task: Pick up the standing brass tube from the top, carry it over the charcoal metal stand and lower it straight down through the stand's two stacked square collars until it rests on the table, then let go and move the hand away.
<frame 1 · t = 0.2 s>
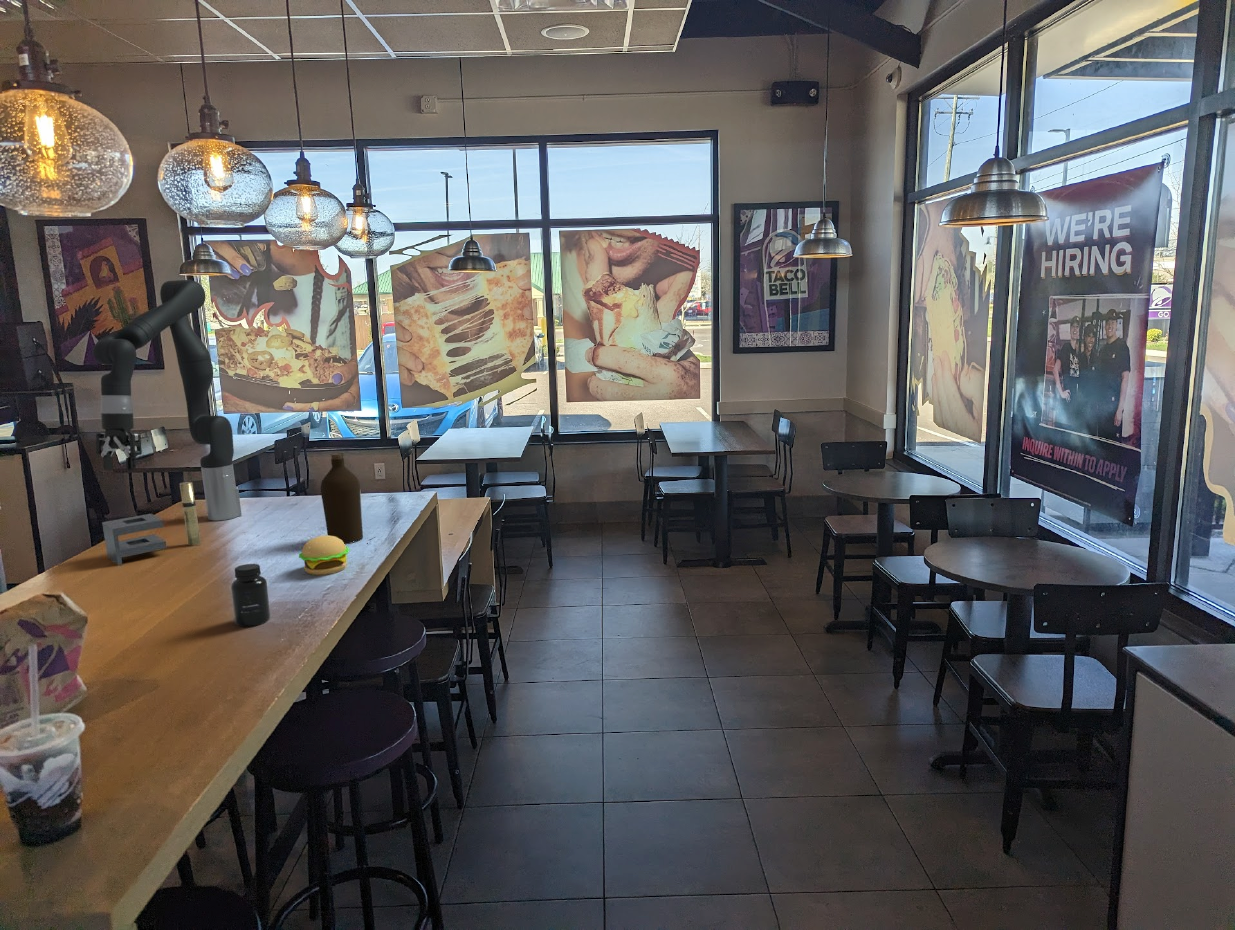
hand: (119, 470, 222), 23 cm above the table, tool pointing down, fingers open, 8 cm apart
supplement bottle: (253, 622, 169), on the table
hamburger: (326, 570, 203), on the table
brass tube: (194, 544, 230), on the table
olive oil: (346, 540, 229), on the table
collar stand: (139, 555, 220), on the table
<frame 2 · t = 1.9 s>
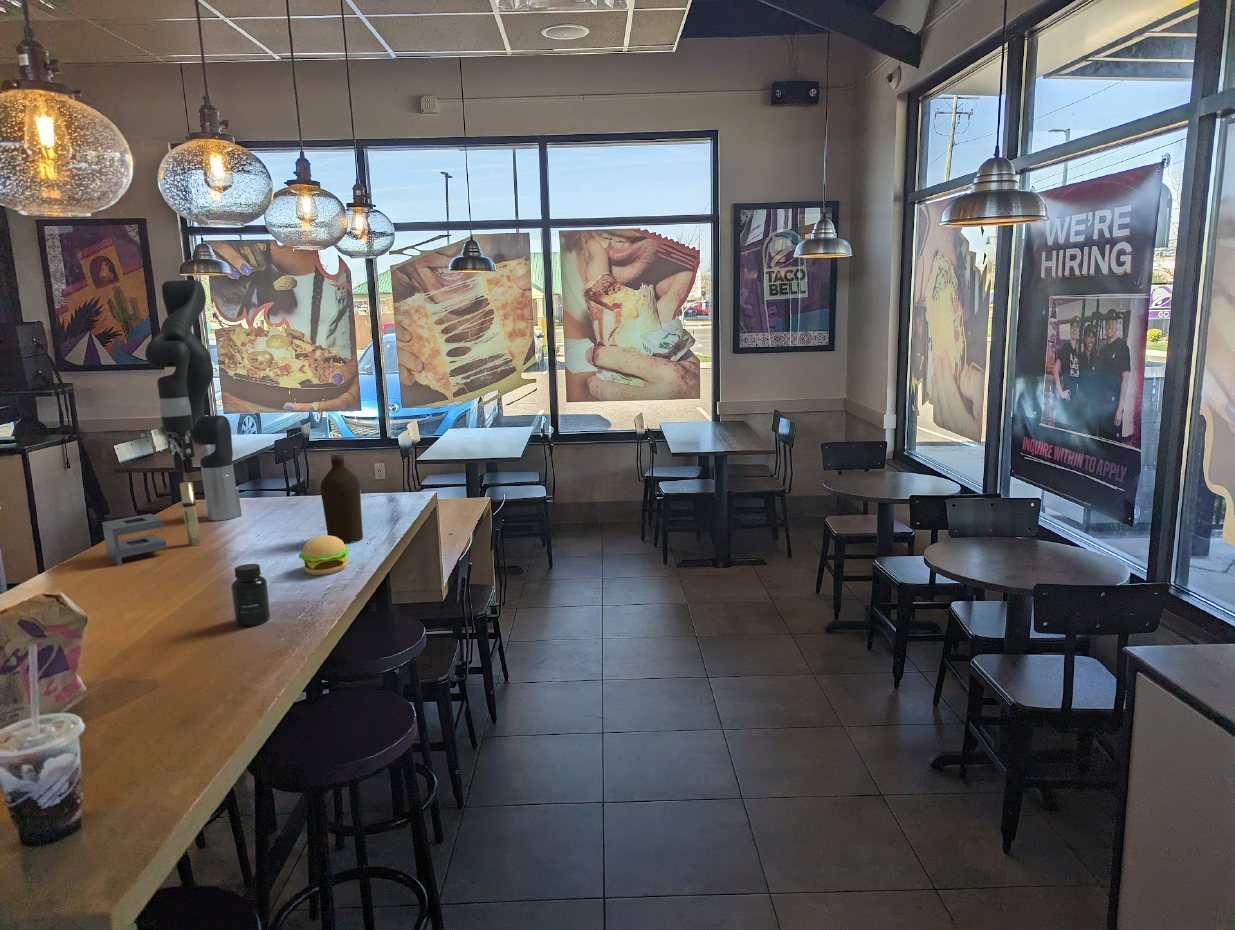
hand: (184, 470, 226), 22 cm above the table, tool pointing down, fingers open, 8 cm apart
nothing on the table moved.
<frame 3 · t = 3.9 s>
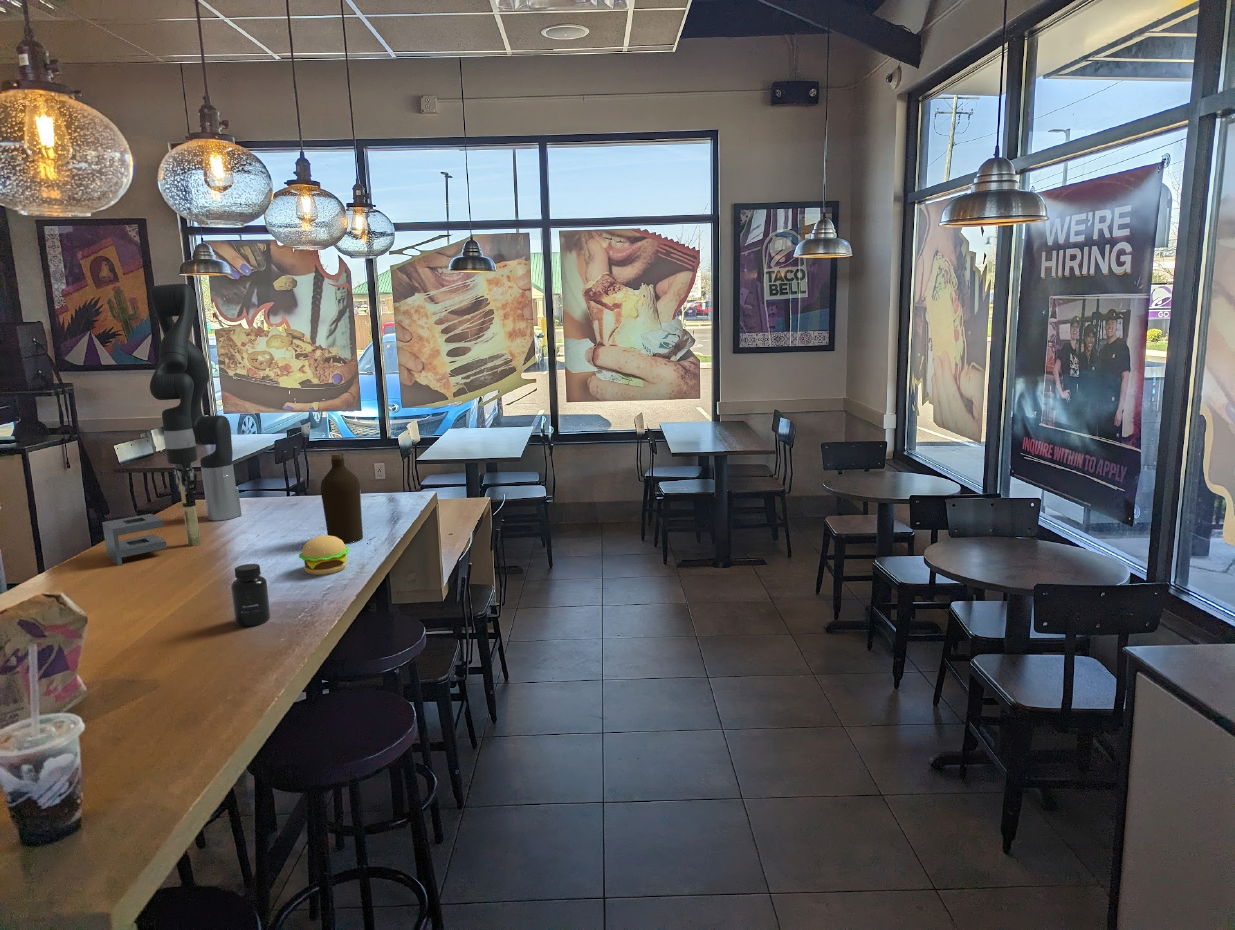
hand: (189, 504, 228), 12 cm above the table, tool pointing down, fingers closed on brass tube, 3 cm apart
brass tube: (194, 544, 230), on the table, touching gripper
everything else where it was.
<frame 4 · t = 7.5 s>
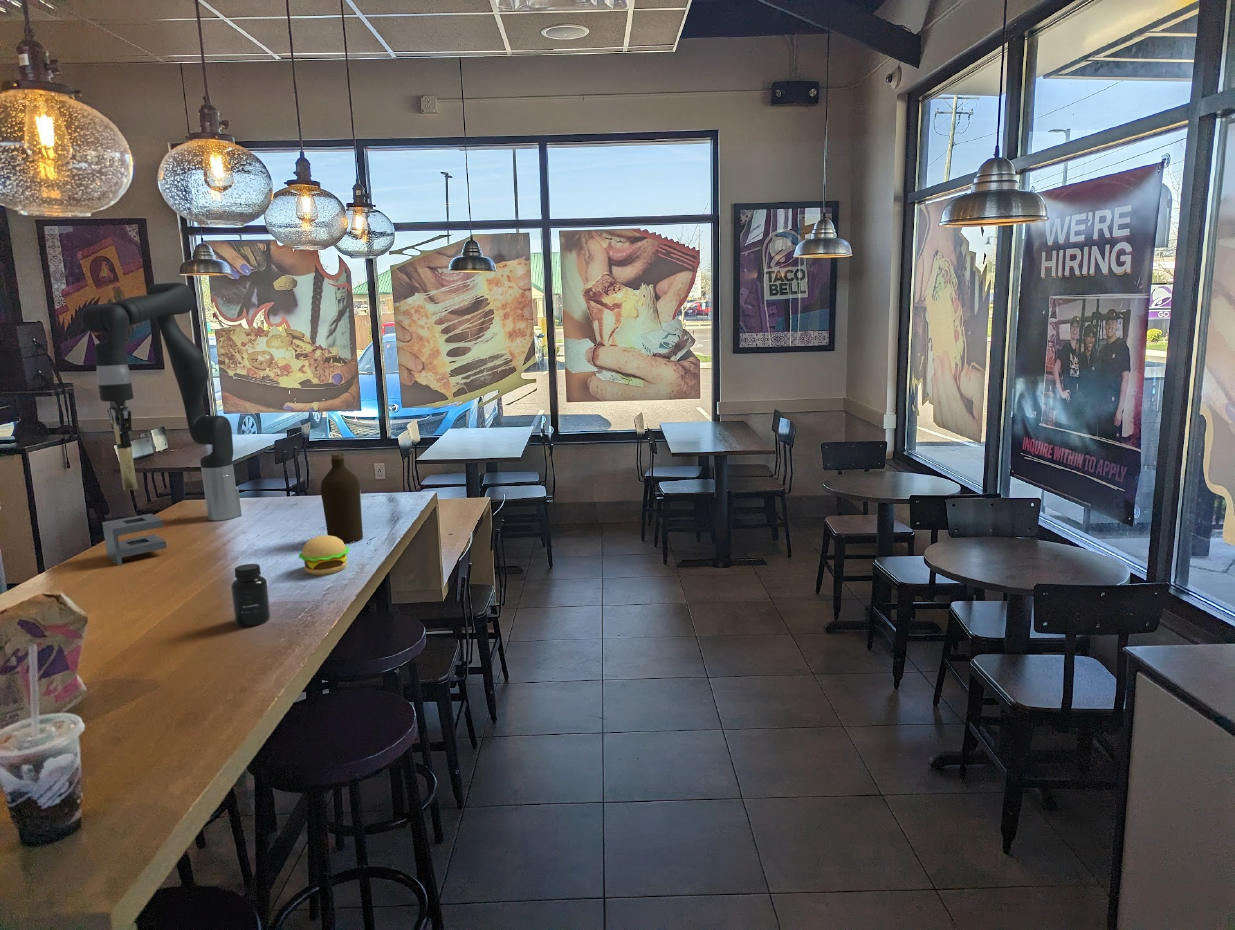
hand: (124, 446, 215), 31 cm above the table, tool pointing down, fingers closed on brass tube, 3 cm apart
brass tube: (130, 489, 217), point 19 cm above the table, touching gripper
everything else where it was.
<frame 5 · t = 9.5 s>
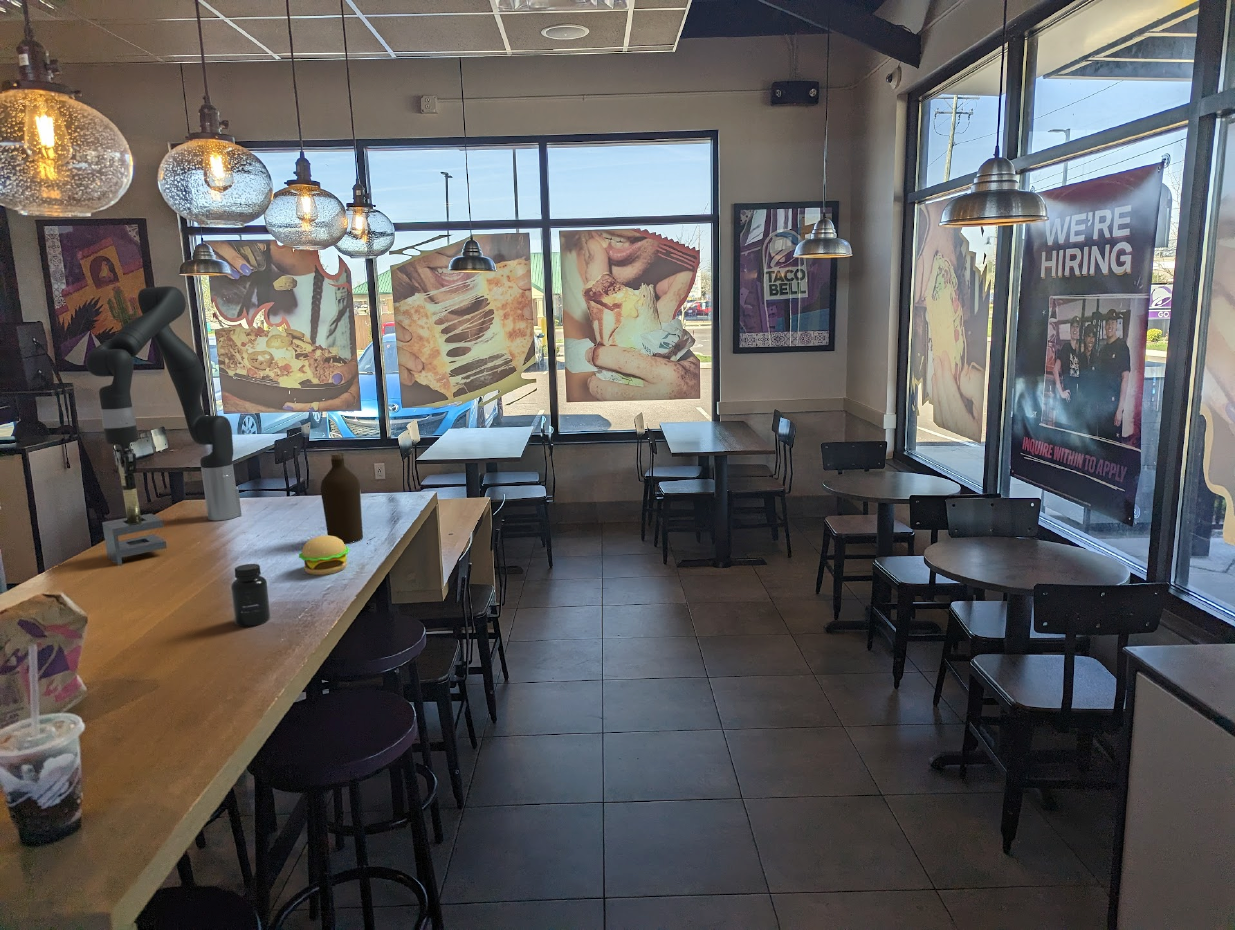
hand: (129, 487, 217), 19 cm above the table, tool pointing down, fingers closed on brass tube, 3 cm apart
brass tube: (135, 529, 219), point 8 cm above the table, touching gripper
everything else where it was.
when the fingers open (13 cm above the table, at t = 11.1 s): brass tube drops 1 cm, on the table.
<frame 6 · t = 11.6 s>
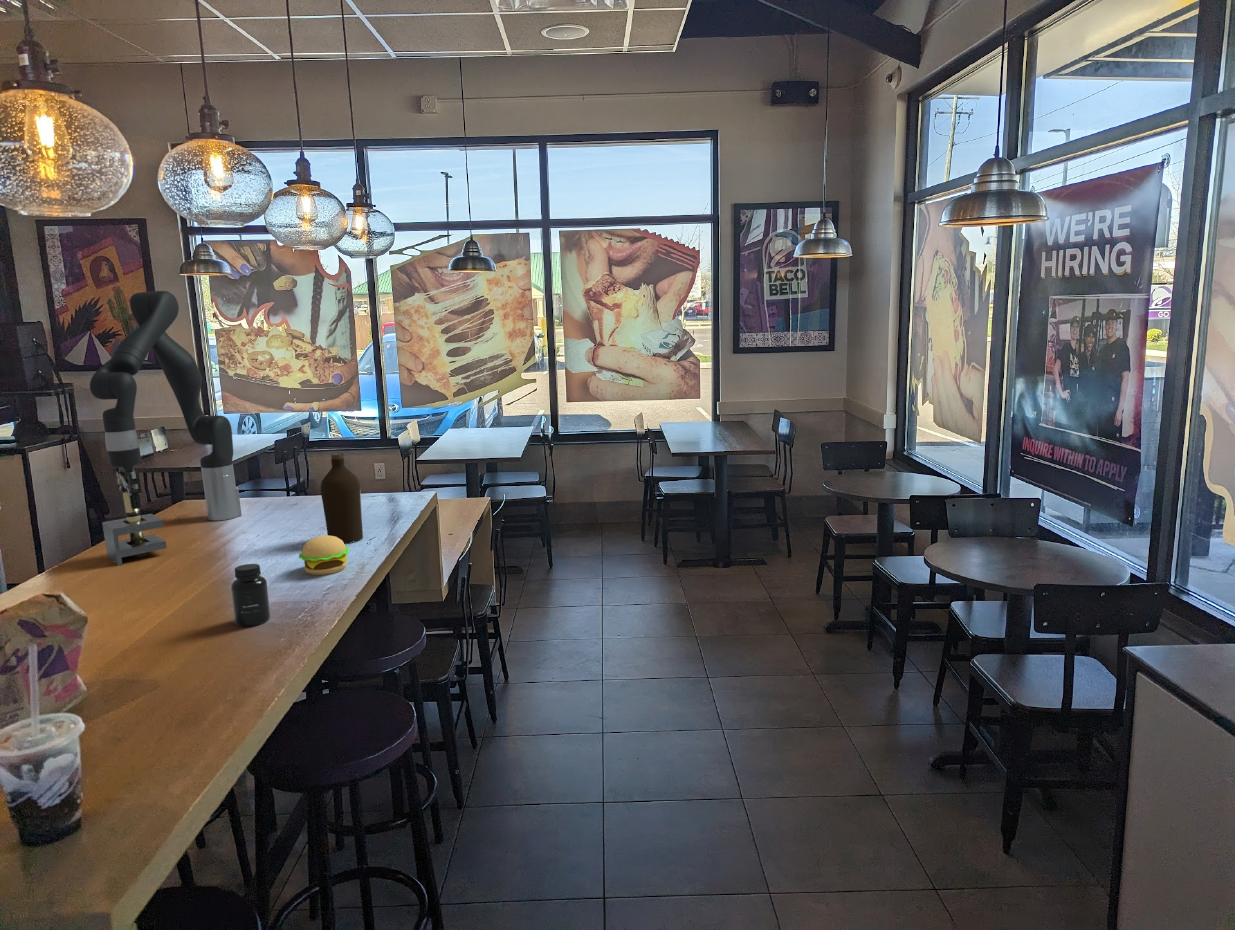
hand: (132, 506, 218), 14 cm above the table, tool pointing down, fingers open, 8 cm apart
brass tube: (139, 555, 220), on the table
everything else where it was.
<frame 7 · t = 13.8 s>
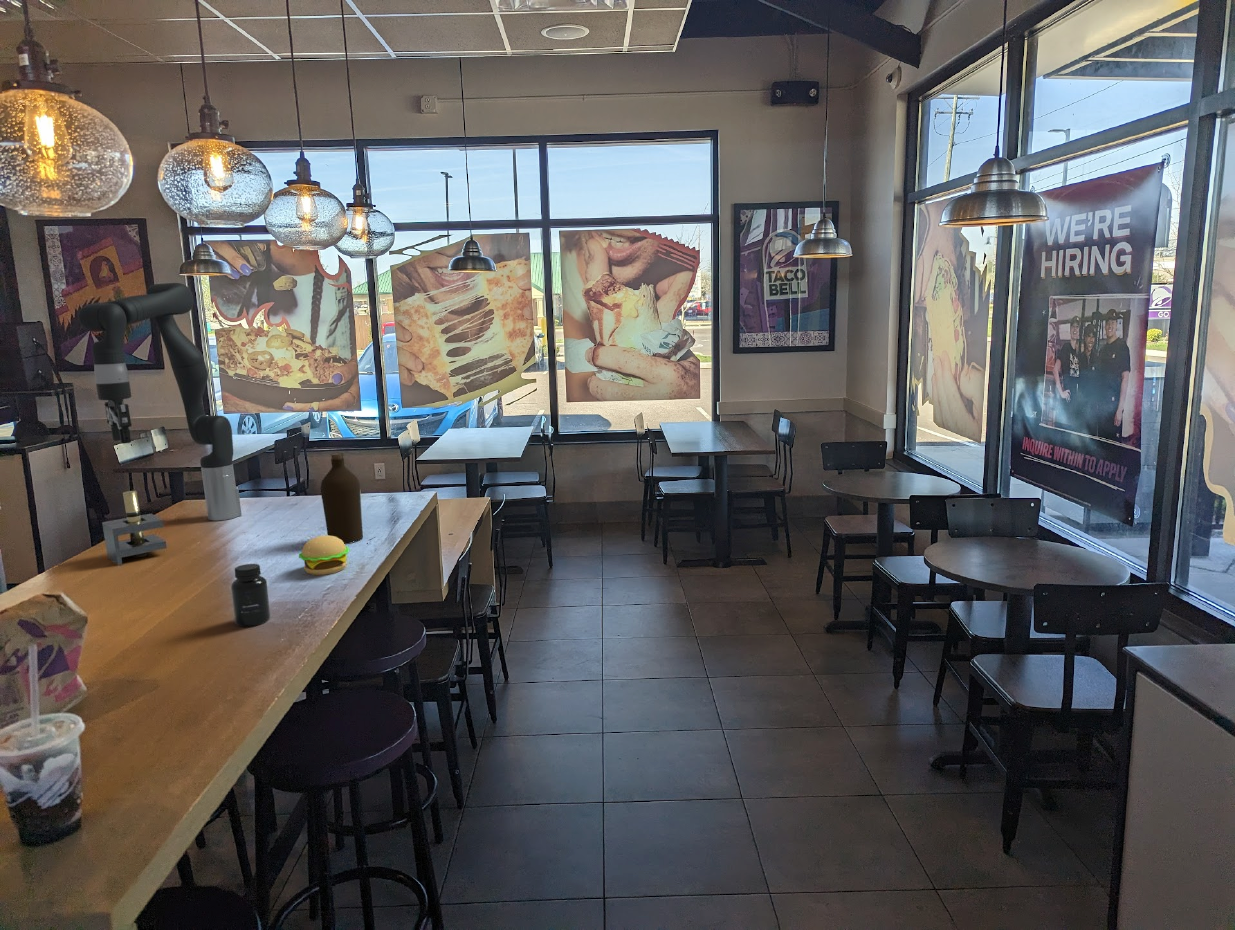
hand: (122, 441, 214), 32 cm above the table, tool pointing down, fingers open, 8 cm apart
nothing on the table moved.
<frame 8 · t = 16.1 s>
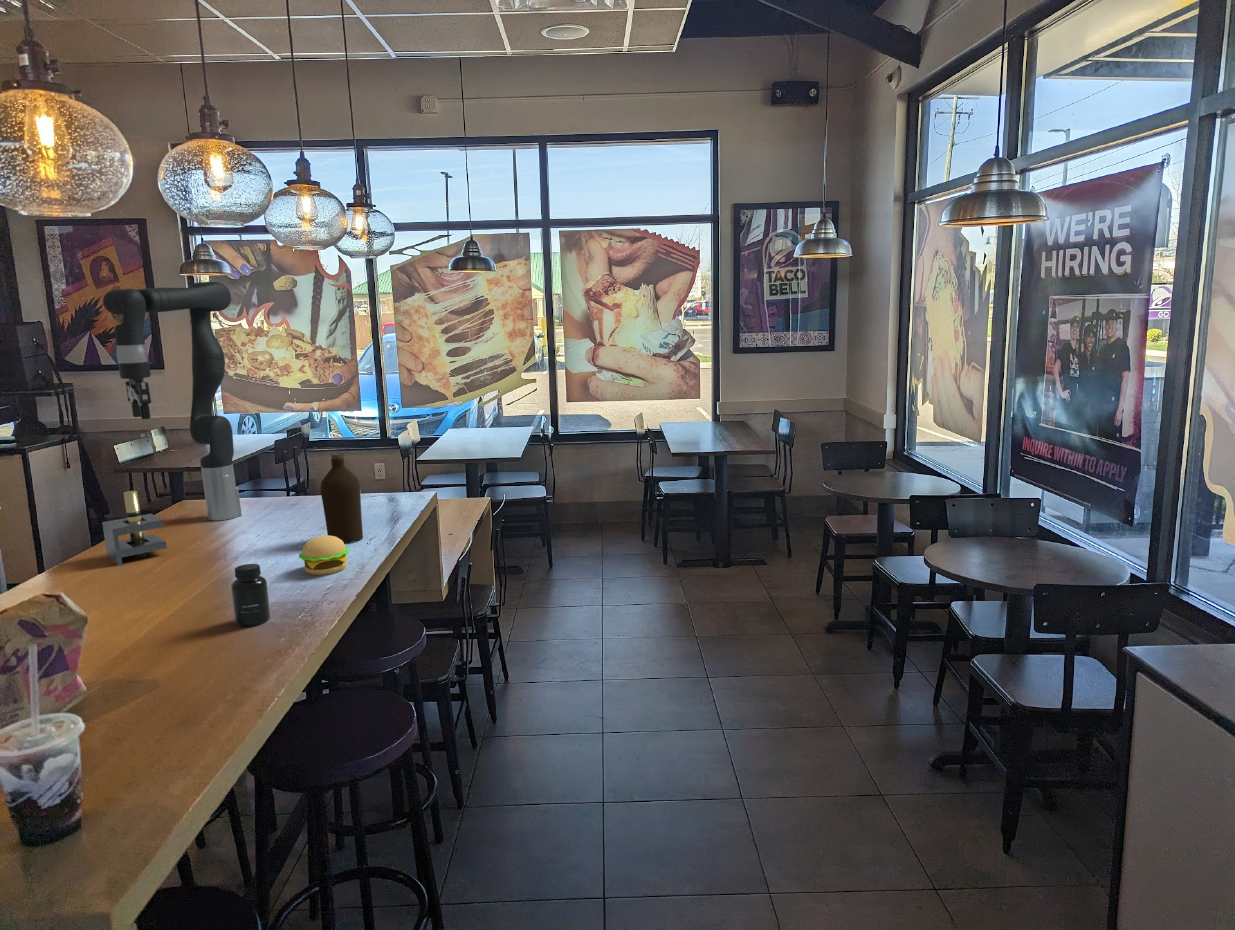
hand: (141, 417, 230), 36 cm above the table, tool pointing down, fingers open, 8 cm apart
nothing on the table moved.
at the end: brass tube 0.0 cm off-centre on the collar stand, point 0.0 cm above the collar stand's base; brass tube tilted 0°; the gripper is holding nothing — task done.
